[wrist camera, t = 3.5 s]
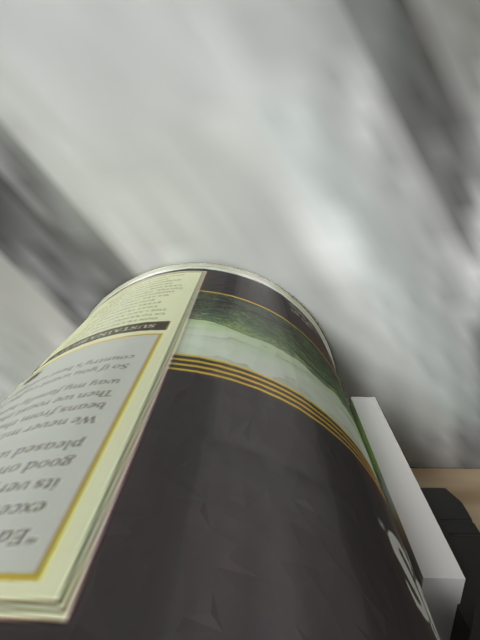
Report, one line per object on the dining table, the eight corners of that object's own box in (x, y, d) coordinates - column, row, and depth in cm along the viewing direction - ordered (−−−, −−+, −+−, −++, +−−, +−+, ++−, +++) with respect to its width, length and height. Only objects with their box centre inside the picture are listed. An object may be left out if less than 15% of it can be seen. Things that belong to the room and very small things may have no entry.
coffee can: (356, 269, 16) (901, 876, 3) (318, 506, 19) (462, 1270, 6) (59, 247, 16) (-947, 747, 3) (75, 488, 19) (-308, 1220, 6)
